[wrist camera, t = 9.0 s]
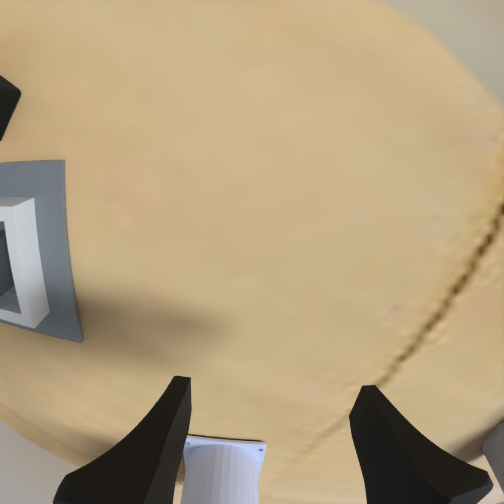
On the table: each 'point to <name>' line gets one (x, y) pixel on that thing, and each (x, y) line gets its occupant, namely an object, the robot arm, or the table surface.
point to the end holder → (38, 249)
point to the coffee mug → (496, 452)
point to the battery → (7, 102)
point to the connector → (5, 265)
